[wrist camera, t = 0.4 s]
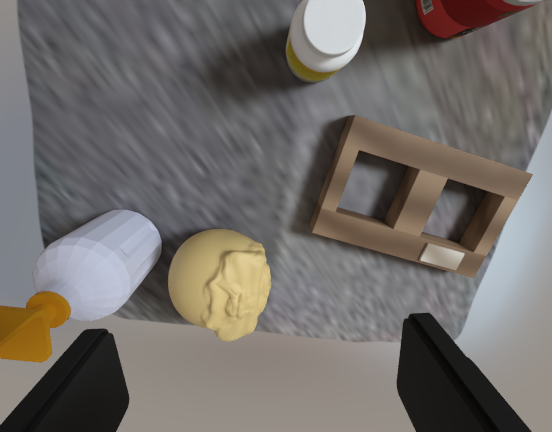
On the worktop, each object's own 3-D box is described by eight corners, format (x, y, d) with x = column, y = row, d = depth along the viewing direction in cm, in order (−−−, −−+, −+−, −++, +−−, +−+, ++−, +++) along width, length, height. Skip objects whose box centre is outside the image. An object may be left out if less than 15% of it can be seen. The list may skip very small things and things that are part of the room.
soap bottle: (94, 268, 40) (-156, 480, 16) (91, 203, 37) (-217, 348, 14) (162, 275, 40) (13, 491, 17) (163, 212, 37) (-12, 366, 14)
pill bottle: (340, 83, 33) (372, 66, 23) (285, 83, 33) (292, 66, 23) (343, 19, 31) (380, -31, 21) (285, 19, 31) (293, -32, 21)
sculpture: (265, 301, 42) (263, 359, 32) (180, 291, 41) (150, 348, 31) (276, 226, 38) (279, 264, 28) (184, 214, 38) (151, 249, 27)
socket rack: (348, 115, 34) (356, 115, 31) (512, 170, 37) (535, 174, 34) (309, 224, 38) (312, 233, 35) (459, 266, 41) (475, 279, 38)
